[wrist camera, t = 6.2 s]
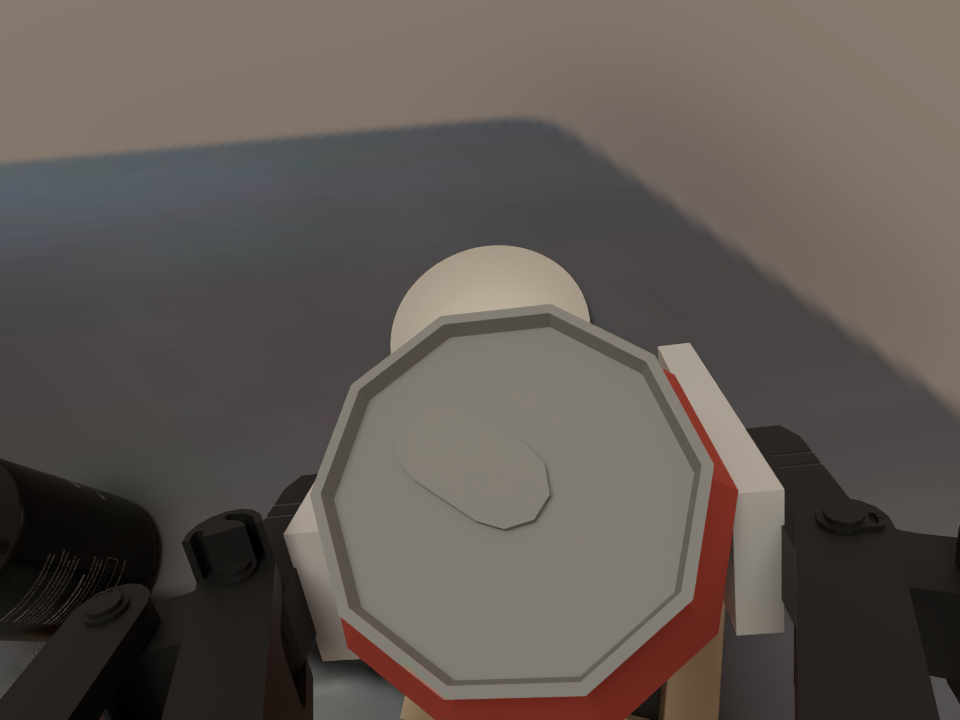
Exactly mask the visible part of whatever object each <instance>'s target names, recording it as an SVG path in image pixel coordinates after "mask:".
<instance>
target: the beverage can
mask: <svg viewBox="0 0 960 720" xmlns="http://www.w3.org/2000/svg"><path fill="white" fill-rule="evenodd" d="M310 497H311V501H312V505H313V509H314V513H315V517H316V522H317V526H318V530H319V534H320V538H321V542H322V547H323V551H324V555H325V559H326V563H327V567H328V572H329V576H330V580H331V584H332V588H333V592H334V597H335V601H336V605H337V609H338V613H339V616H340V619H341V623H342V627H343V631H344V635H345V639H346V643H347V648H348V649H350V650H351V651H352V652H353V653H354V654H356V655H357V656H358V657H359V658H360V659H362V660H363V661H364V662H365V663H367V664H368V665H369V666H370V667H371V668H373V669H374V670H375V671H376V672H377V673H379V674H380V675H381V676H382V677H384V678H385V679H386V680H387V681H388V682H390V683H391V684H392V685H393V686H394V687H396V688H397V689H398V690H399V691H401V692H402V693H403V694H404V695H405V696H407V697H408V698H409V699H410V700H412V701H413V702H414V703H415V704H416V705H418V706H419V707H420V708H421V709H422V710H424V711H425V712H426V713H427V714H429V715H430V716H431V717H432V718H433V719H435V720H624V719H625V718H627V717H628V716H629V715H630V714H631V713H632V712H633V711H634V710H635V709H636V708H637V707H639V706H640V705H641V704H642V703H643V702H644V701H645V700H646V699H647V698H648V697H650V696H651V695H652V694H653V693H654V692H655V691H656V690H657V689H658V688H659V687H660V686H662V685H663V684H664V683H665V682H666V681H667V680H668V679H669V678H670V677H671V676H672V675H674V674H675V673H676V672H677V671H678V670H679V669H680V668H681V667H682V666H683V665H685V664H686V663H687V662H688V661H689V660H690V659H691V658H692V657H693V656H694V655H695V654H697V653H698V652H699V651H700V650H701V649H702V648H703V647H704V646H705V645H706V644H708V643H709V642H710V641H711V640H712V639H713V638H714V637H715V636H716V635H717V634H718V632H719V625H720V618H721V611H722V604H723V597H724V590H725V583H726V576H727V568H728V561H729V554H730V547H731V540H732V533H733V526H734V519H735V512H736V505H737V497H738V489H737V487H736V485H735V483H734V482H733V480H732V478H731V476H730V474H729V472H728V471H727V469H726V467H725V465H724V463H723V462H722V460H721V458H720V456H719V454H718V452H717V451H716V449H715V447H714V445H713V443H712V442H711V440H710V438H709V436H708V434H707V432H706V431H705V429H704V427H703V425H702V423H701V422H700V420H699V418H698V416H697V414H696V412H695V411H694V409H693V407H692V405H691V403H690V402H689V400H688V398H687V396H686V394H685V392H684V391H683V389H682V387H681V385H680V383H679V382H678V380H677V378H676V376H675V375H674V374H672V373H670V372H668V371H666V370H664V369H662V368H661V366H660V364H659V362H658V360H657V358H656V357H655V355H653V354H651V353H649V352H647V351H645V350H643V349H641V348H639V347H637V346H635V345H633V344H631V343H629V342H627V341H625V340H623V339H621V338H619V337H617V336H615V335H613V334H611V333H609V332H607V331H605V330H603V329H601V328H599V327H597V326H595V325H593V324H591V323H589V322H587V321H585V320H583V319H581V318H579V317H577V316H575V315H573V314H571V313H569V312H567V311H565V310H563V309H561V308H559V307H557V306H555V305H553V304H545V305H536V306H527V307H518V308H509V309H500V310H491V311H482V312H473V313H464V314H455V315H446V316H440V317H439V318H437V319H436V320H435V321H433V322H432V323H431V324H430V325H428V326H427V327H426V328H424V329H423V330H422V331H420V332H419V333H418V334H417V335H415V336H414V337H413V338H411V339H410V340H409V341H407V342H406V343H405V344H404V345H402V346H401V347H400V348H398V349H397V350H396V351H395V352H393V353H392V354H391V355H389V356H388V357H387V358H385V359H384V360H383V361H382V362H380V363H379V364H378V365H376V366H375V367H374V368H373V369H371V370H370V371H369V372H367V373H366V374H365V375H363V376H362V377H361V378H360V379H358V380H357V381H356V382H354V383H353V384H352V385H351V387H350V390H349V392H348V395H347V398H346V400H345V403H344V406H343V408H342V411H341V414H340V416H339V419H338V422H337V424H336V427H335V430H334V432H333V435H332V438H331V440H330V443H329V445H328V448H327V451H326V453H325V456H324V459H323V461H322V464H321V467H320V469H319V472H318V475H317V477H316V480H315V483H314V485H313V488H312V491H311V493H310Z"/></svg>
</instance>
